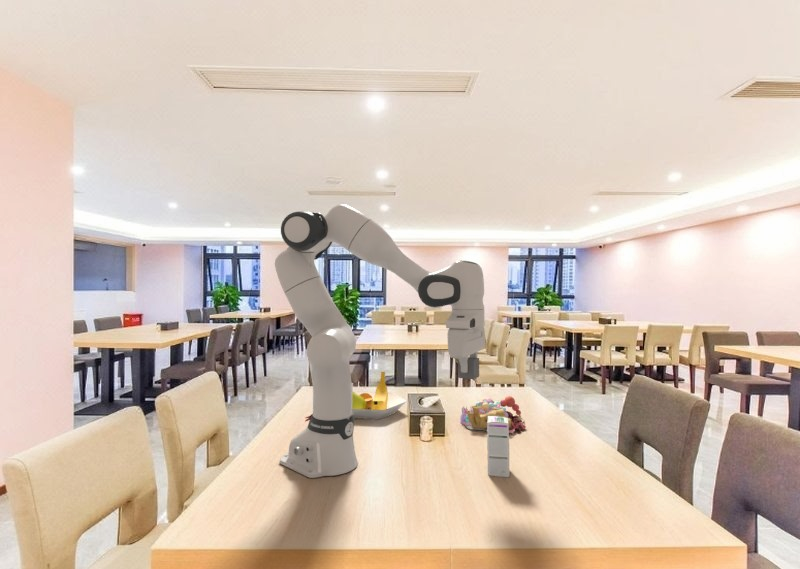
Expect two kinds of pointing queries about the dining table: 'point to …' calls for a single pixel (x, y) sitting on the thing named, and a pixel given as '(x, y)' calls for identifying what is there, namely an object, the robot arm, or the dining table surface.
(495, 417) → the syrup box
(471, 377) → the block
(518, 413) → the food platter
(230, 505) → the dining table surface
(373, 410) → the fruit
